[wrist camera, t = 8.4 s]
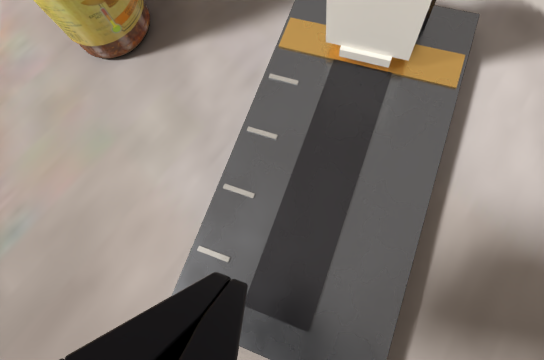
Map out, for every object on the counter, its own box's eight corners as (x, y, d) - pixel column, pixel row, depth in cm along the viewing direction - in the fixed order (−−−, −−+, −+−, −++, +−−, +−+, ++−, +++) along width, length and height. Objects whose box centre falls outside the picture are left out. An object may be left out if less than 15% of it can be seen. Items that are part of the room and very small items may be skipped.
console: (371, 398, 19) (384, 428, 15) (172, 311, 22) (139, 316, 18) (472, 27, 24) (501, -25, 20) (304, -7, 27) (301, -58, 23)
